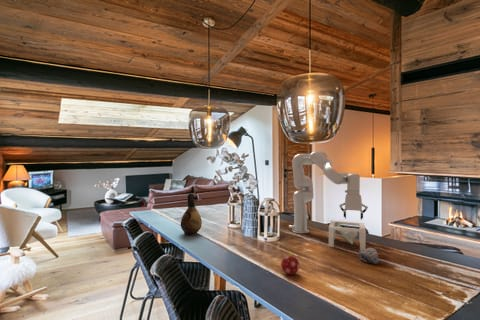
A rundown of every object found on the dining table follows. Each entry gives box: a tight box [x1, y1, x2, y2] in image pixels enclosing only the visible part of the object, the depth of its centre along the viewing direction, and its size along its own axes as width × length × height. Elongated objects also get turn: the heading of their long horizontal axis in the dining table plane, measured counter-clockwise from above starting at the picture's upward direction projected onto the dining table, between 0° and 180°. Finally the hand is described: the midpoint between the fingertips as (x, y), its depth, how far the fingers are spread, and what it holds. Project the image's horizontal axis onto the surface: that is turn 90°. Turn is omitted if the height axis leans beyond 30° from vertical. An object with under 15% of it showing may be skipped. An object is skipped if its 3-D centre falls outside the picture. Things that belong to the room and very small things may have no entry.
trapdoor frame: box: [328, 220, 367, 251], centre depth 183 cm, size 22×21×12 cm
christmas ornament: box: [280, 252, 300, 276], centre depth 134 cm, size 9×9×10 cm
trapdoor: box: [335, 222, 354, 245], centre depth 183 cm, size 15×14×1 cm
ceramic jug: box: [180, 192, 203, 237], centre depth 205 cm, size 17×15×30 cm
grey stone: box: [346, 231, 358, 241], centre depth 182 cm, size 5×5×5 cm
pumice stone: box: [358, 247, 380, 265], centre depth 152 cm, size 10×8×10 cm
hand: (353, 218), depth 181 cm, fingers open, 9 cm apart
